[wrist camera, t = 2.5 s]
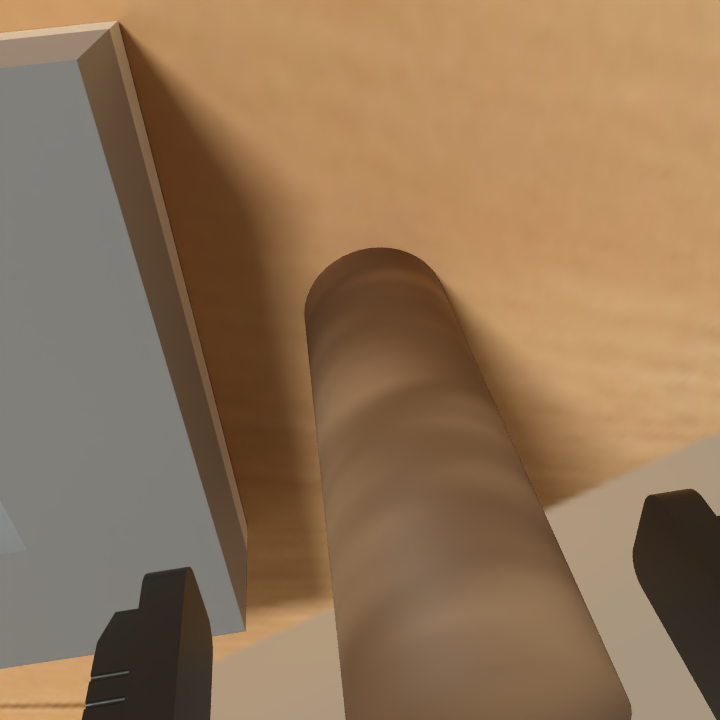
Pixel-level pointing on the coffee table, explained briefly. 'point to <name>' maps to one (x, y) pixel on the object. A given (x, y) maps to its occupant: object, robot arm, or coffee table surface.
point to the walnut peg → (436, 519)
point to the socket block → (97, 364)
